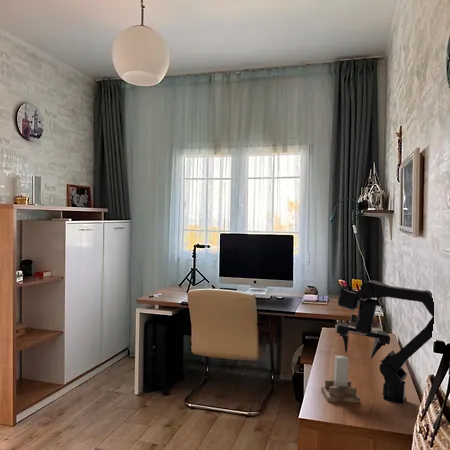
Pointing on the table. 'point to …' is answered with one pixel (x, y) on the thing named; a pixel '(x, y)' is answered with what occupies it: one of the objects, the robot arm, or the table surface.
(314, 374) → the table surface
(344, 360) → the beige rectangular block
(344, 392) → the beige rail channel
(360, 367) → the table surface
